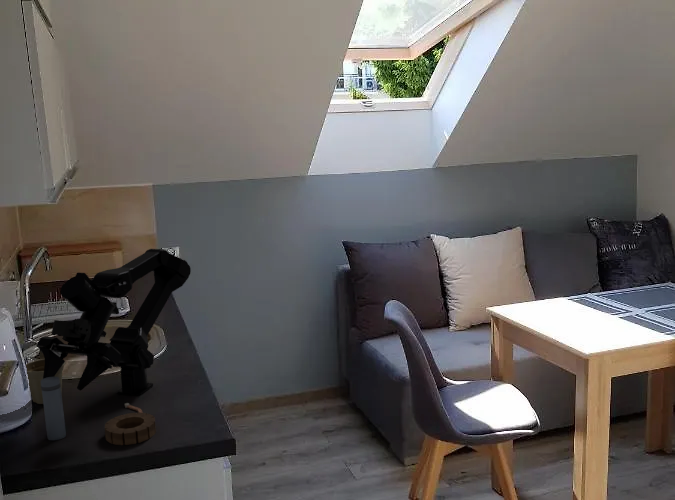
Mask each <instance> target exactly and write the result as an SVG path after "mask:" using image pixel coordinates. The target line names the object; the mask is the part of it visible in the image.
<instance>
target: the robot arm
mask: <svg viewBox="0 0 675 500" xmlns="http://www.w3.org/2000/svg"><path fill="white" fill-rule="evenodd" d="M191 271H192V270H191V266H190V264H188V262H187V260H186V259H183V258H181V257H179V256H176V255H174V254H171V253H170V252H169V251H167V250H165V249H163V248H149V249H147V250H146V251H145V252H144V253H142V254H140V255H138V256H137V257H136V258H133V259H132V260H130V261H128V262H127V263H125V264H123V265H122V266H120V267H117V268H109V269H106V270H103V271H99V272H97V273H95V275H94V276H93V277H92V279H91V278H90V277H89V275H88V274H86V272H76V274H75V276H71V278H69V279H68V280H66V282H64V283H62V286H61V288H60V292H59V293H60V295H61V297H62V298H63V299H64V300H65V301H67V302H68V304H70V305H72V306H73V307H74V309H76V310H77V311H79V312H82V313H81V315H80V317H79V318H75V319H73V320H72V321H66V320H58V319H55V320H54V321H53V325H52V329H51V336H46V335H45V336H41V337H40V338H39V340H38V341H37V344H36V345H35V347H36V348H37V349H39V351H40V353H41V354H42V355H43V359H45V365H44V375H43V379H44V378H47V377H54V376H55V375H56V373H57V372H58V370H59V369H60V368H61V366H62V365H63V364H64V362H65V363H66V360H64V359H65V358H66V357H68V354H69V355H70V354H71V355H78V356H86V365H85V367H84V370H83V372H82V374H81V377H80V378H79V380H78V383H77V387H76V388H77V390H78V391H83V389H84V388H86V387H87V386H88V385H90V383H92V382H93V381H94V380H95V379H97V378H98V377H100V376H101V375H102V374H103V373H105V372H106V371H107V370H109V369H113V368H120V371H119V372H120V382H121V388H119V389H118V390H116V394H123V395H132V396H133V395H135V396H136V395H137V396H141V395H143V394H144V393H145V392H147V391H148V390H149V389H150V388H152V387H153V386H154V383H152V382H148V373H147V369H150V368H151V367H152V365H154V361H155V355H154V354H153V352H151V351H150V350H149V349H148V348H149V340H148V336H149V333H150V332H151V331H152V329H153V326H154V324H155V323H156V321H157V320H158V317H159V316H160V315H161V312H162V310H163V309H164V308H165V305H166V304H167V301H168V300H169V299H170V296H171V294H173V292H175V291H177V290H178V289H180V288H182V287H183V286H184V284H186V282H187V281H188V280H189V277H190V275H191ZM151 272H152V273H153V277H154V280H153V281H154V284H153V285H152V287H151V289H150V290H149V292H148V294H147V295H146V297H145V299H143V302H142V304H141V305H140V306H139V308H138V311H137V312H136V313H135V316H134V317H133V319H132V321H131V322H130V324H129V325H128V326H127V327H121V326H119V327H118V328H116V329H115V331H114V334H113V335H112V337H110V339H109V341H110V342H99V341H100V339H101V337H102V338H105V337H106V335H107V332H106V331H105V328H106V326H107V324H108V323H109V320H110V317H111V316H112V315H119V314H120V310H119V308H118V306H117V302H116V301H115V302H114V301H111V300H110V298H112V299H123V298H124V297H125V296H127V294H129V292H130V291H132V289H133V285H134V284H135V283H136V282H137V281H138V280H141V278H143V277H144V276H146V275H148V274H149V273H151ZM53 336H54V337H53ZM56 336H57V337H56ZM58 336H60V337H62V340H63V341H64V342H67V343H64V342H63V341H62V340H60V339H59V338H58Z"/></svg>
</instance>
